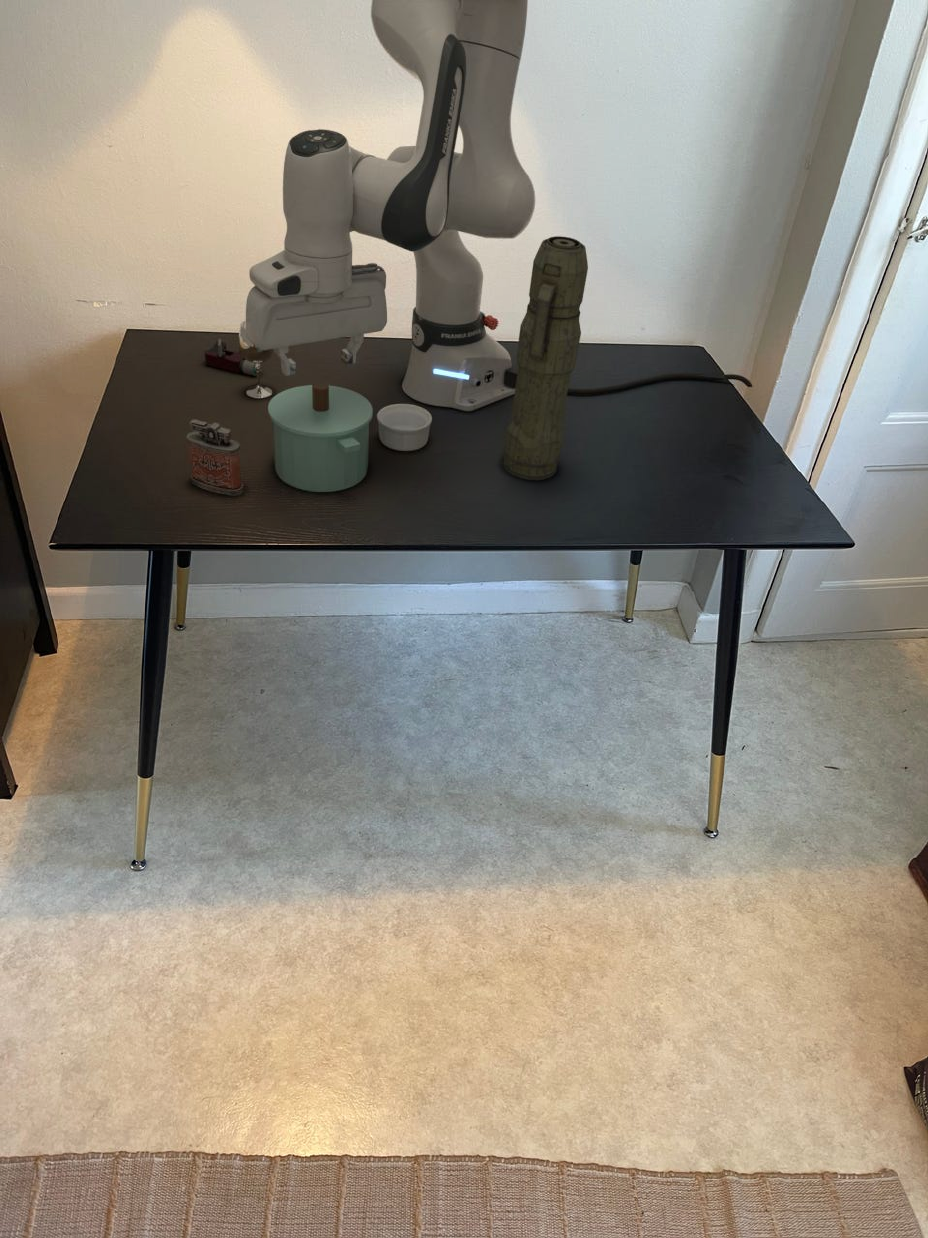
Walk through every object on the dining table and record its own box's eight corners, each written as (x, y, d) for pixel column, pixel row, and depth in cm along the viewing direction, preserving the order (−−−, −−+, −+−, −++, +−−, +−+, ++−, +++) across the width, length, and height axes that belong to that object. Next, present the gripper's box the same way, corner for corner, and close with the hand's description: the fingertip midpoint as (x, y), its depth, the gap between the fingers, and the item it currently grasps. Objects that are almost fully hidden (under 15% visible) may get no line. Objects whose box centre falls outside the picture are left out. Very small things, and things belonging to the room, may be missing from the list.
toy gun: (257, 380, 159) (255, 354, 156) (198, 365, 162) (195, 339, 159) (283, 360, 167) (282, 335, 164) (226, 346, 169) (224, 321, 166)
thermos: (493, 477, 141) (522, 248, 119) (511, 443, 150) (541, 224, 128) (548, 490, 140) (588, 260, 117) (563, 455, 149) (602, 235, 126)
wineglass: (268, 402, 154) (265, 334, 146) (236, 396, 154) (231, 328, 147) (281, 388, 158) (278, 321, 150) (250, 382, 159) (245, 315, 151)
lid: (341, 384, 141) (341, 356, 138) (391, 427, 132) (392, 397, 129) (251, 403, 134) (249, 373, 131) (297, 449, 125) (296, 418, 122)
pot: (332, 430, 148) (332, 376, 142) (392, 487, 136) (395, 430, 130) (252, 448, 141) (248, 392, 135) (309, 510, 130) (308, 451, 124)
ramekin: (417, 458, 144) (419, 434, 141) (367, 444, 145) (367, 420, 143) (438, 435, 150) (440, 411, 147) (390, 422, 152) (390, 398, 149)
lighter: (247, 487, 133) (243, 425, 126) (235, 498, 130) (230, 436, 124) (199, 473, 134) (192, 412, 128) (187, 484, 132) (179, 422, 126)
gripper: (374, 254, 127) (371, 348, 135) (237, 269, 117) (243, 370, 125) (398, 268, 123) (393, 365, 131) (258, 286, 113) (263, 389, 121)
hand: (319, 368), depth 128 cm, fingers open, 8 cm apart
